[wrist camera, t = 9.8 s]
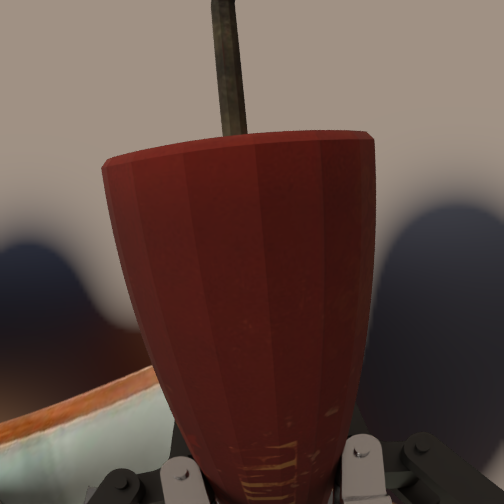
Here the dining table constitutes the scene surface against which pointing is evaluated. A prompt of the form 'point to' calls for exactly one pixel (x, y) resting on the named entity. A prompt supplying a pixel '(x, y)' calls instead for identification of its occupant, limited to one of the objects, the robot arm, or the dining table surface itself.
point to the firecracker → (252, 288)
